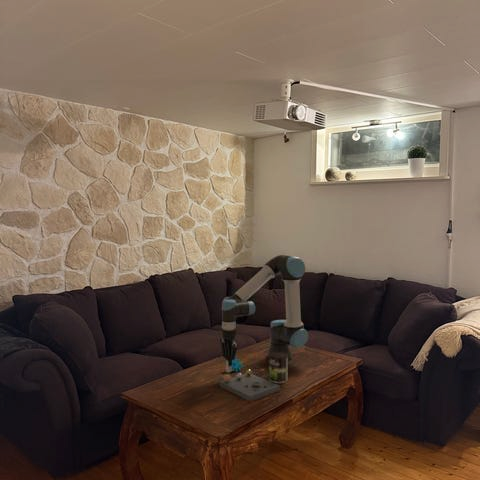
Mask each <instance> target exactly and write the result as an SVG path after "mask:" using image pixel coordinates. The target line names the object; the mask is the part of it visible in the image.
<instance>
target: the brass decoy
mask: <svg viewBox="0 0 480 480" xmlns="http://www.w3.org/2000/svg"><path fill="white" fill-rule="evenodd" d="M245 374H247V375H251V374H253V371H252V370H251V369H250V368H249V369H246V370H245Z"/></svg>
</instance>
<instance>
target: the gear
mask: <svg viewBox="0 0 480 480" xmlns="http://www.w3.org/2000/svg"><path fill="white" fill-rule="evenodd" d="M240 360H241V359H240V358H237V356H236V355H235V359H234V360H232V371H231V372H235V373H239V372H240V371H241V370H242V368H243V366H242V365H243V363H244V361H240Z"/></svg>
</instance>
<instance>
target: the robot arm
mask: <svg viewBox="0 0 480 480" xmlns="http://www.w3.org/2000/svg"><path fill="white" fill-rule="evenodd" d="M305 272H306V264H305V261H304V260H303V259H302V258H300V257H298V256H293V255H285V254H279V255H277V256H274V257H272V258H271V259H270V260H268V261H267V262H265V264H263V266H262V268H261V269H260V270H259V271H258V272H257V273H256V274H255V275H254V276H253V277H251V278H250V279H249V280H248V281H247V282H246V283H245V284H244V285H242V287H240V288H239V289H237V291H236V292H235V293H233V295H231V296H226V297H224V299H222V303H221V336H222V338H221V339H219V343H220V345H221V352H222V358H224V359H225V372H226V373H230V372H233V371H232V369H233V368H232V360H234V359H235V356H236V354H237V348H238V346H239V343H238V342H236V339H235V337H236V335H237V333H236V332H237V329H236V327H237V322H236V320H237V317H244V316H245V317H246V316H251V315H254V314H255V312H256V305H255V303H254V302H253V301H252V300H249V299H250V298H251V297H252V296H253V295H254V294H255V293H256V292H258V290H259V289H260V288H262V287H263V286H264V285H265V284H266V283H267V282H268V281H270V280H271V279H274V278H275V277H277V276H278V275H281V280H282V281H283V282H284V297H285V299H284V300H285V318H286V319H276V320H272V321H271V322H270V327H269V329H270V332H269V333H270V334H269V335H270V337H269V338H270V340H269V343H270V344H269V347H268V351H267V353H266V354H267V358H268V359H269V353H271V352H275V351H281V352H285V353H287V354H288V361H289V360H291V359H292V357H293V354H292V353H293V352H291V351H292V350H291V347H292V348H297V349H298V348H302V347H303V346H304V345H306V343H307V341H308V339H309V334H308V331H307V329H305V327H304V323H303V322H302V317H301V293H300V292H301V291H300V290H301V289H300V282H301V280H302V279H303V278H302V277H303V275H305ZM247 300H248V301H247ZM290 346H291V347H290ZM235 360H236V359H235Z"/></svg>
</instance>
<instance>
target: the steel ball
mask: <svg viewBox="0 0 480 480" xmlns="http://www.w3.org/2000/svg"><path fill="white" fill-rule="evenodd" d="M242 375H243V374H242V373H241V372H237V374H236V376H235V377H237V379H242Z"/></svg>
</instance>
